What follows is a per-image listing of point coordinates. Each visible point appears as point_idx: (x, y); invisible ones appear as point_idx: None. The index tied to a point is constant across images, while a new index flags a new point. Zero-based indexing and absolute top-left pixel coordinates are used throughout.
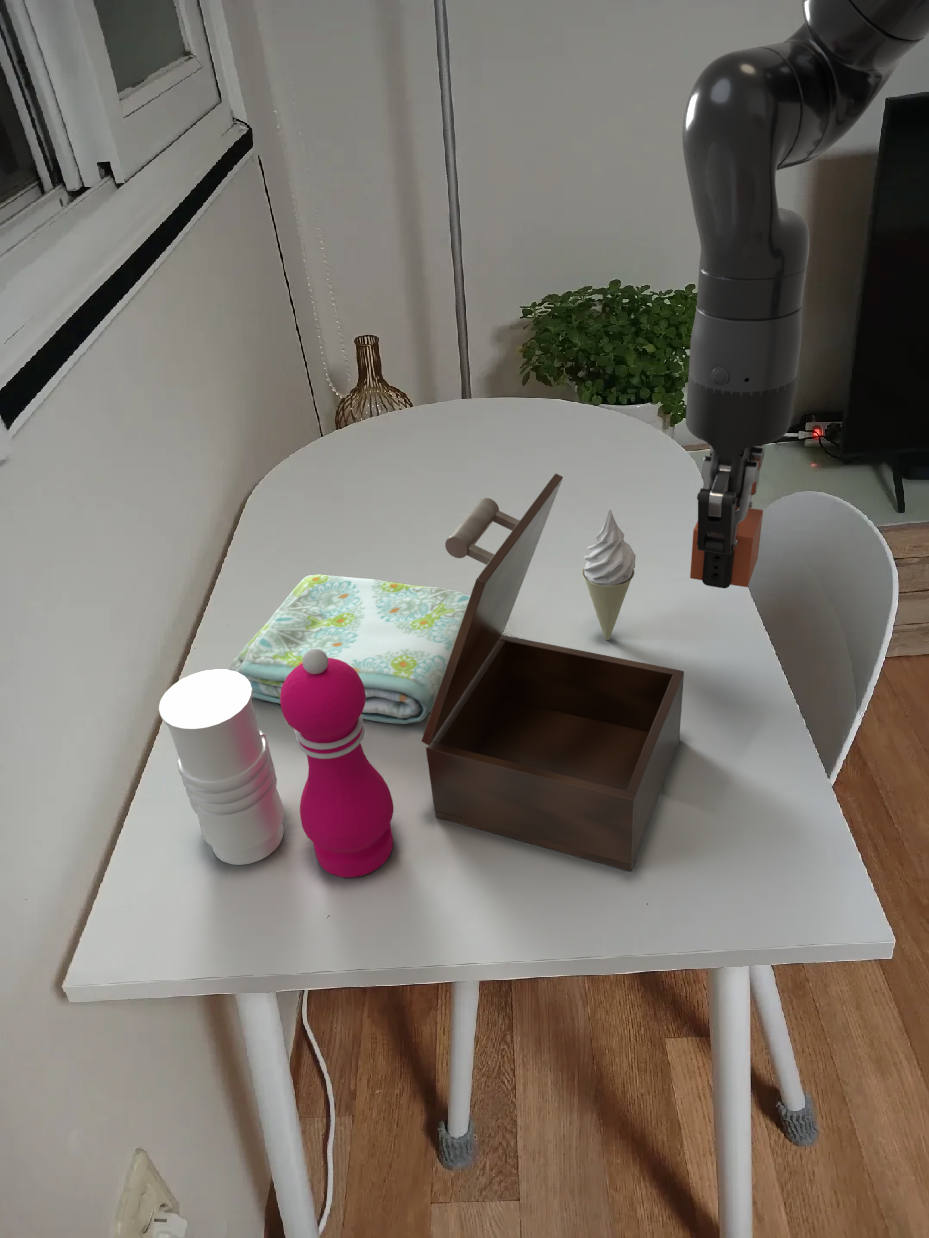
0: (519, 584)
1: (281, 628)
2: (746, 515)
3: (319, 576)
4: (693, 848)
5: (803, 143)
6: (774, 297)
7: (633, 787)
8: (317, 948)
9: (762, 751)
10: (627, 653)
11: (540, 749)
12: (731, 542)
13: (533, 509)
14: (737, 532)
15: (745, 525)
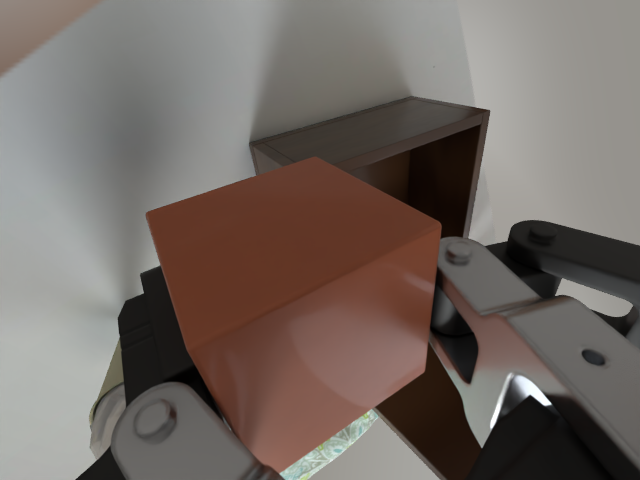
0: (397, 401)
1: (345, 442)
2: (541, 312)
3: None
4: (376, 53)
5: None
6: None
7: (477, 119)
8: (485, 221)
9: (206, 29)
10: (138, 284)
11: None
12: (579, 242)
13: None
14: (469, 278)
15: (370, 300)
